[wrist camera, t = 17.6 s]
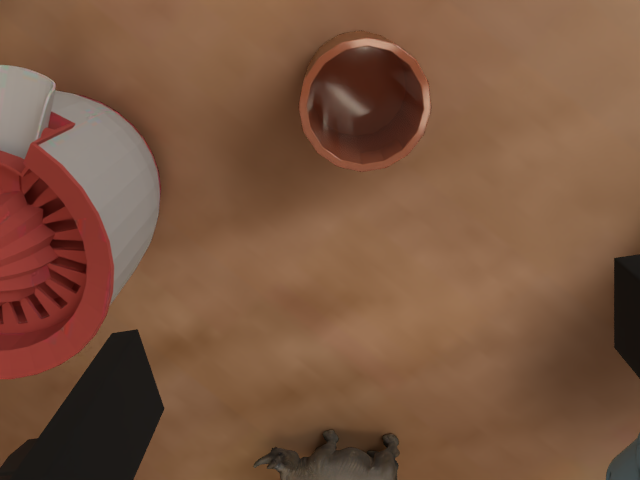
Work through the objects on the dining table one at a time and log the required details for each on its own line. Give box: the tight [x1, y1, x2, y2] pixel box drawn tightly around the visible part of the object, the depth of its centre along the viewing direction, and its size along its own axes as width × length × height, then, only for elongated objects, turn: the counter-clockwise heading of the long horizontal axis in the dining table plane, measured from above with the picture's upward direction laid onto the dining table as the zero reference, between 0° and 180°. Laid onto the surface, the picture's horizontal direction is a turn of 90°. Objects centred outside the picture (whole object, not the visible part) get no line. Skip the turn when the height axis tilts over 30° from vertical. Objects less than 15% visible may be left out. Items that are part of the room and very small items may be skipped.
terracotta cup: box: [299, 31, 431, 172], centre depth 40 cm, size 8×8×9 cm
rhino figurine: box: [254, 430, 400, 480], centre depth 54 cm, size 4×14×6 cm, turn 88°
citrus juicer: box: [0, 65, 161, 379], centre depth 37 cm, size 16×17×20 cm
